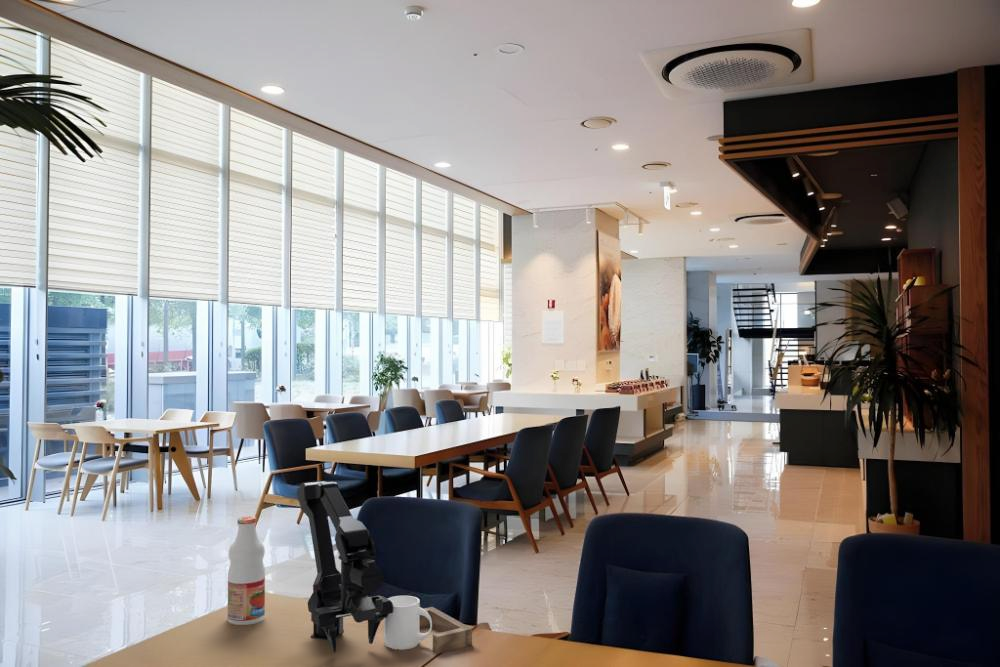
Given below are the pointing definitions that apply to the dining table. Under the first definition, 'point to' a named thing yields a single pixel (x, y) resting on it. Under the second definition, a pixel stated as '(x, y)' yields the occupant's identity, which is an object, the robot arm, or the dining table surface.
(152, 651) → the dining table surface
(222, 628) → the dining table surface
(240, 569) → the fruit juice
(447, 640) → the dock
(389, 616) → the mug
